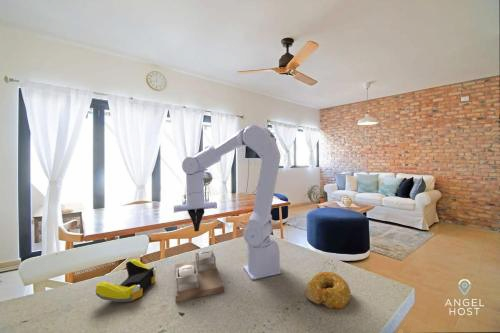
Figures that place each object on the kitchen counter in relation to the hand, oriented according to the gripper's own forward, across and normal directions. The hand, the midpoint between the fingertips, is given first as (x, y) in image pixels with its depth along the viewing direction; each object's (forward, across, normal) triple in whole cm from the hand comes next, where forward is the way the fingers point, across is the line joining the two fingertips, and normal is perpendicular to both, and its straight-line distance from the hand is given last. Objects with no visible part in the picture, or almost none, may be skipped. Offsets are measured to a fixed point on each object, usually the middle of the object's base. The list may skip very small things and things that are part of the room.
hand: (196, 230), depth 76 cm
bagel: (+10, -28, +33) cm, 45 cm away
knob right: (+8, -1, +10) cm, 13 cm away
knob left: (+8, +4, +17) cm, 20 cm away
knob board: (+10, +2, +14) cm, 17 cm away
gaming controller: (+10, +19, +12) cm, 25 cm away
